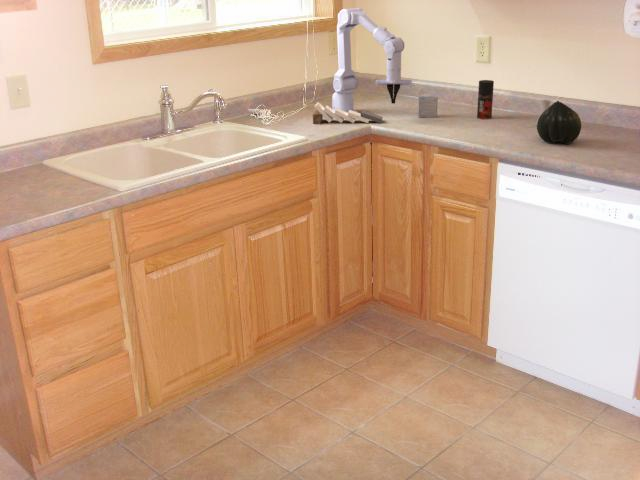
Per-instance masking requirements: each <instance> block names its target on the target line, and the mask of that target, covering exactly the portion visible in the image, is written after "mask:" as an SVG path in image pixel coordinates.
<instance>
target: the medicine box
mask: <svg viewBox="0 0 640 480" xmlns="http://www.w3.org/2000/svg"><path fill="white" fill-rule="evenodd" d="M438 99H439V97H438V95H437V94H423V95H422V94H419V95H418V99H417V101H418V105H417V107H418V108H417V110H418V113H417V115H418V117H417V118H438V103H439V101H438Z"/></svg>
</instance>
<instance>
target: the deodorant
mask: <svg viewBox="0 0 640 480" xmlns="http://www.w3.org/2000/svg"><path fill="white" fill-rule="evenodd" d="M494 82H495V81H494V80H492V79H491V80H490V79H489V80H488V79H481V80H478V92H477V93H478V94H477V112H476V119H479V120H490V119H492V116H493V99H494Z"/></svg>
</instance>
